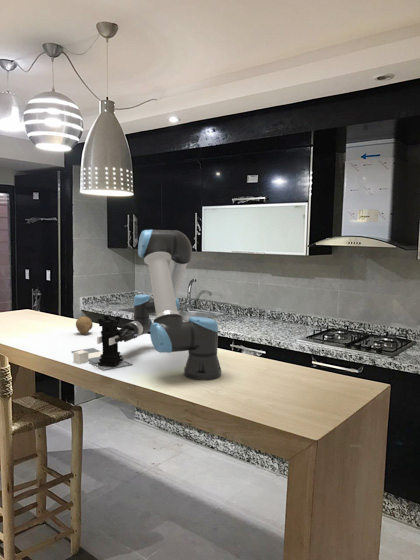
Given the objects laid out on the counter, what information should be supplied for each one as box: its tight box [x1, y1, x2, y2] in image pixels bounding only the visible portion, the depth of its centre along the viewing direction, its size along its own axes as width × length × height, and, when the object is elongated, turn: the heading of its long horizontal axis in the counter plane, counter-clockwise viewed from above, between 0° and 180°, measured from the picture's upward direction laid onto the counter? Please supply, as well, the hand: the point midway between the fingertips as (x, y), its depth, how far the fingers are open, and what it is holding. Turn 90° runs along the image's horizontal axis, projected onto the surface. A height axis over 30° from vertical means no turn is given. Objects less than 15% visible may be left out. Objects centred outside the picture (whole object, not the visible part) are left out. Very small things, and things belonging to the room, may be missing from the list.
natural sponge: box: [75, 315, 94, 335], centre depth 250 cm, size 9×9×10 cm
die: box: [72, 349, 89, 365], centre depth 196 cm, size 4×4×5 cm
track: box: [71, 347, 103, 365], centre depth 206 cm, size 24×11×1 cm, turn 40°
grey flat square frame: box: [88, 359, 134, 372], centre depth 194 cm, size 14×14×1 cm
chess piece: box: [97, 314, 124, 367], centre depth 192 cm, size 8×8×20 cm
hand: (103, 341), depth 188 cm, fingers closed on chess piece, 5 cm apart
